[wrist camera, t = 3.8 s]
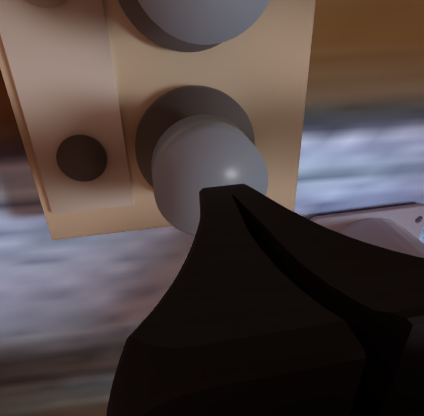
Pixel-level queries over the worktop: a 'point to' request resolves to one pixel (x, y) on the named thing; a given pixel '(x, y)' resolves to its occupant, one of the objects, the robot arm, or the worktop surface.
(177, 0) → the button middle
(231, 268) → the robot arm
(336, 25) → the worktop surface
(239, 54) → the button board
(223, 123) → the button
